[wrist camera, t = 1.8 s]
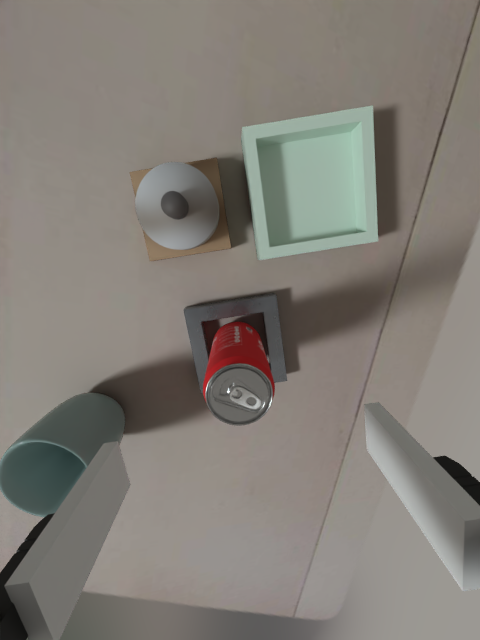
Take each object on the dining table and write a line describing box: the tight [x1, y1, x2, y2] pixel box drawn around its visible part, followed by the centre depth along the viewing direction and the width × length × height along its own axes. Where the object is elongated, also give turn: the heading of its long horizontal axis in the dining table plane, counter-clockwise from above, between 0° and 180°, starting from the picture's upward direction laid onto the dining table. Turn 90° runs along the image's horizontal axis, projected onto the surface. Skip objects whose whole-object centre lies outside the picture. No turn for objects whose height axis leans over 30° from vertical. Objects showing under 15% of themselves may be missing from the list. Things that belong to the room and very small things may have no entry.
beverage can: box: [203, 322, 275, 425], centre depth 25 cm, size 5×5×12 cm
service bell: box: [130, 158, 231, 261], centre depth 25 cm, size 8×8×6 cm
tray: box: [241, 106, 378, 260], centre depth 26 cm, size 11×11×3 cm
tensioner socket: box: [184, 293, 287, 394], centre depth 30 cm, size 10×10×2 cm
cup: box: [0, 393, 125, 517], centre depth 28 cm, size 8×8×10 cm
